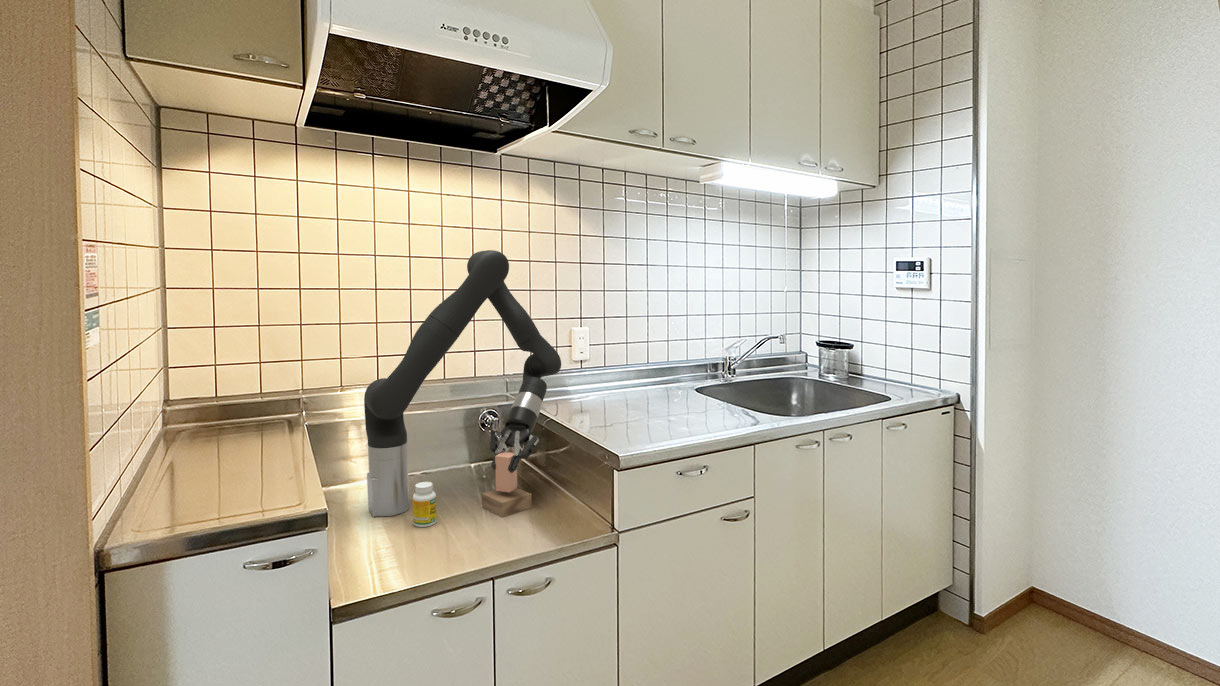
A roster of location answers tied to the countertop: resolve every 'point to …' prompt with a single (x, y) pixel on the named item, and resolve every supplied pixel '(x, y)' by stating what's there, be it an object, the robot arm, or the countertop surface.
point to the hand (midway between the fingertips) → (502, 470)
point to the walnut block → (506, 501)
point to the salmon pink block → (505, 473)
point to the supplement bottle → (424, 505)
